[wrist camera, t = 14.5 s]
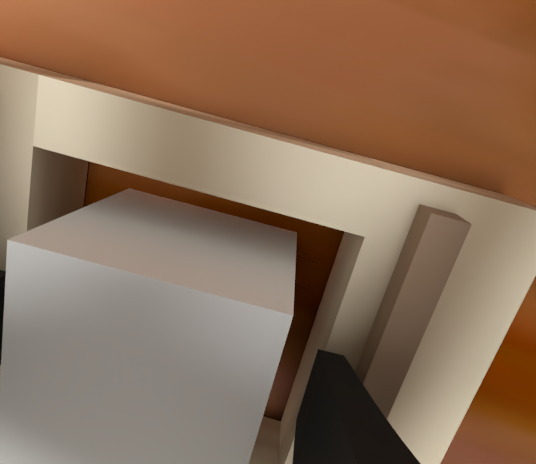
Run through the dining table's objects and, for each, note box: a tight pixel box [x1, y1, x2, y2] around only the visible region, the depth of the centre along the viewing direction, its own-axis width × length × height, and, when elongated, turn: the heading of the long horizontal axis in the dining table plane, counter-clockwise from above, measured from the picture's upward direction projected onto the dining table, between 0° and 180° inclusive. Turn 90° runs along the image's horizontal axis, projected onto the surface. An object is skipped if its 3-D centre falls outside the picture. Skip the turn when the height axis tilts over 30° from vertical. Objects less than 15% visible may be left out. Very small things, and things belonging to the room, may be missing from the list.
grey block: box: [0, 188, 297, 464], centre depth 10 cm, size 5×5×5 cm
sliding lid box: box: [0, 57, 536, 464], centre depth 12 cm, size 15×18×3 cm
